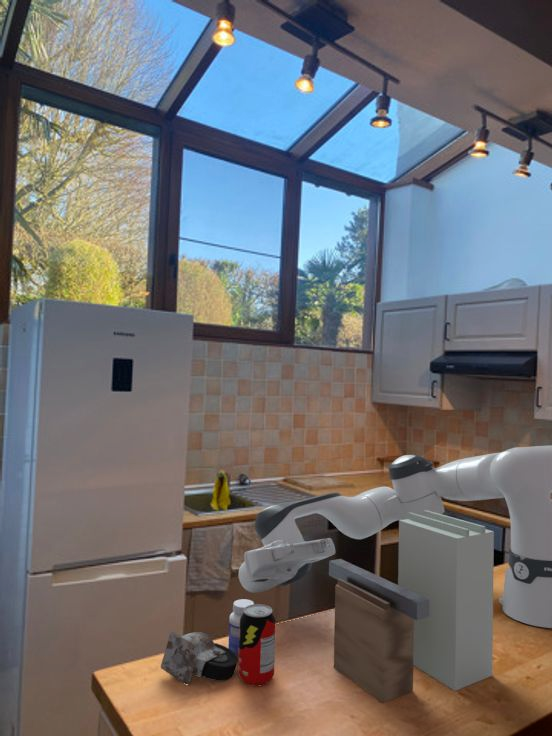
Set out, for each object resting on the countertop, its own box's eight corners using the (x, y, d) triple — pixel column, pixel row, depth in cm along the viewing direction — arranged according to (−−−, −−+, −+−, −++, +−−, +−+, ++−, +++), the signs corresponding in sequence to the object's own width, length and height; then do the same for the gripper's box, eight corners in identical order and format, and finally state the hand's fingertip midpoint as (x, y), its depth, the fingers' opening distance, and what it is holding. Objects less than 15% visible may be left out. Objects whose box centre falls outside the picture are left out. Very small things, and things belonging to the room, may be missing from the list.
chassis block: (362, 657, 104) (364, 573, 104) (412, 691, 93) (414, 596, 93) (333, 667, 100) (335, 579, 101) (382, 703, 89) (384, 604, 90)
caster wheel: (239, 683, 99) (207, 702, 90) (192, 653, 104) (157, 668, 96) (249, 647, 99) (218, 662, 90) (202, 619, 105) (169, 631, 96)
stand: (432, 643, 110) (434, 509, 111) (492, 675, 98) (493, 524, 99) (396, 655, 105) (399, 514, 106) (455, 690, 93) (457, 531, 94)
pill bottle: (237, 644, 108) (238, 595, 108) (261, 651, 105) (262, 600, 106) (222, 656, 103) (224, 605, 103) (247, 663, 101) (248, 610, 101)
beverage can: (261, 666, 100) (263, 600, 100) (281, 682, 95) (282, 612, 95) (231, 675, 96) (233, 607, 97) (249, 692, 91) (251, 620, 91)
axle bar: (340, 573, 107) (340, 558, 107) (429, 616, 87) (429, 599, 88) (328, 575, 106) (329, 560, 106) (416, 620, 86) (417, 602, 86)
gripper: (319, 568, 128) (353, 553, 118) (243, 583, 117) (272, 567, 107) (312, 541, 131) (344, 524, 121) (237, 554, 120) (265, 536, 110)
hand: (310, 545), depth 114 cm, fingers open, 8 cm apart
